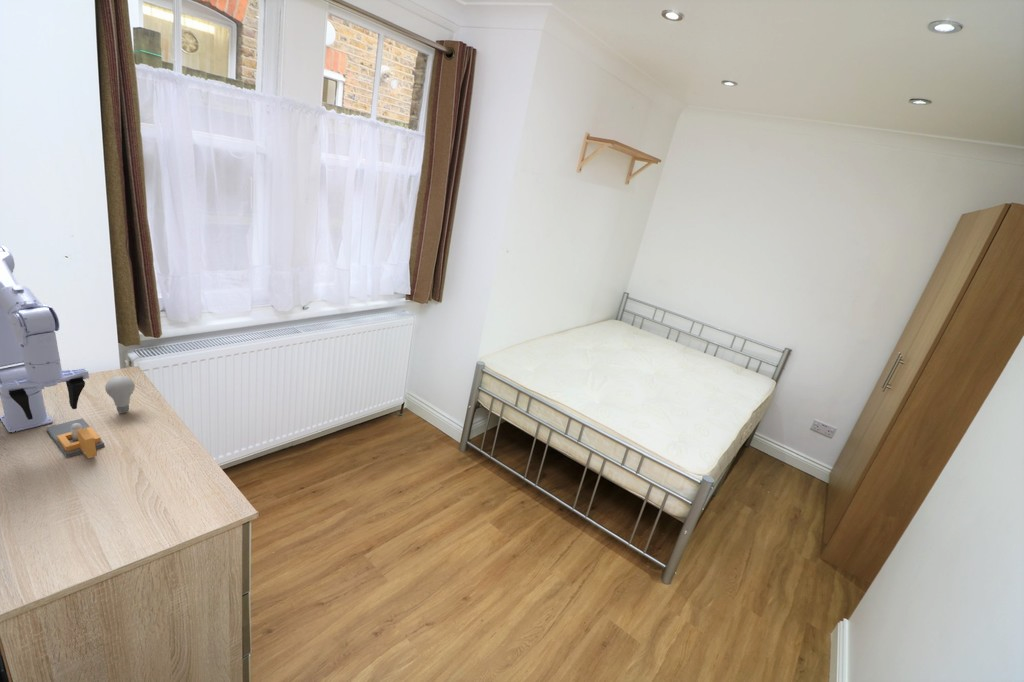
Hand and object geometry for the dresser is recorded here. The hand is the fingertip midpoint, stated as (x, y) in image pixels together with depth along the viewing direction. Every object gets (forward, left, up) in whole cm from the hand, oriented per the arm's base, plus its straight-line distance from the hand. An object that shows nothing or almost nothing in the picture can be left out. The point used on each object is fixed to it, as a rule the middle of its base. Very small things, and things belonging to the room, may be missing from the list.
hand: (52, 412), depth 110 cm
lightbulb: (-8, +15, -10) cm, 20 cm away
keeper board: (-2, +4, -9) cm, 10 cm away
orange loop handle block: (+5, +4, -8) cm, 10 cm away
